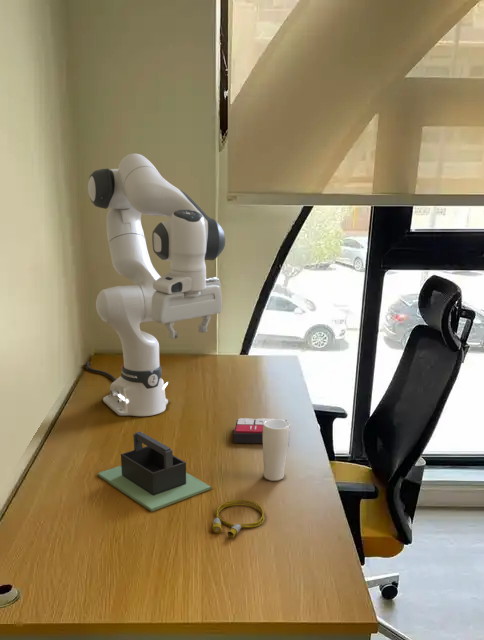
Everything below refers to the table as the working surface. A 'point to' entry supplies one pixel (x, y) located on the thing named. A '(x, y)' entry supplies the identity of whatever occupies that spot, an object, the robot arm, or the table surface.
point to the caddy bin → (153, 466)
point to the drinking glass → (275, 448)
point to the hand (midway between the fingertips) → (188, 335)
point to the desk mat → (145, 498)
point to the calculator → (249, 430)
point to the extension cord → (235, 527)
